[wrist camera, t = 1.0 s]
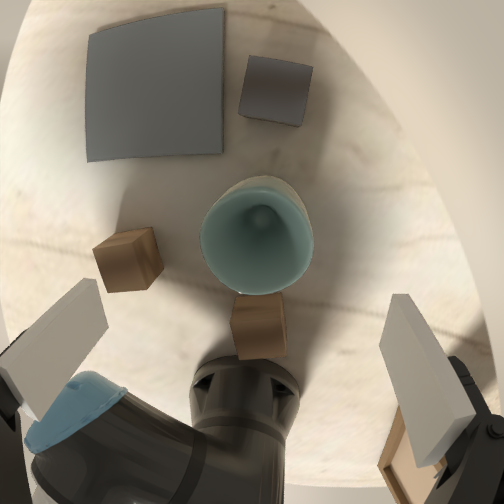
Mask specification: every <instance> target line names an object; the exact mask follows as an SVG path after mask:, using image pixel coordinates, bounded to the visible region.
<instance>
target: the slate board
mask: <svg viewBox="0 0 504 504" xmlns="http://www.w3.org/2000/svg"><path fill="white" fill-rule="evenodd" d="M224 13H225V11H224V9H223V8H213V9H204V10H196V11H188V12H182V13H176V14H170V15H164V16H159V17H154V18H149V19H145V20H141V21H136V22H132V23H128V24H125V25H121V26H117V27H114V28H110V29H107V30H104V31H100V32H97V33H94V34H91V35H89V41H88V52H87V66H86V89H85V129H86V153H87V163H88V162H96V161H105V160H115V159H125V158H137V157H150V156H166V155H187V154H221V153H223V56H224Z"/></svg>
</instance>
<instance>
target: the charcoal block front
mask: <svg viewBox="0 0 504 504" xmlns="http://www.w3.org/2000/svg"><path fill="white" fill-rule="evenodd" d="M312 70H313V67H312V66H307V65H303V64H298V63H293V62H288V61H282V60H277V59H271V58H264V57H258V56H250V55H249V60H248V65H247V70H246V75H245V79H244V84H243V90H242V95H241V100H240V105H239V110H238V114H240V115H242V116H244V117H248V118H254V119H260V120H265V121H271V122H276V123H281V124H286V125H291V126H295V127H300V126H302V121H303V116H304V111H305V106H306V101H307V96H308V91H309V86H310V81H311V76H312Z"/></svg>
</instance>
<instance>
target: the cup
mask: <svg viewBox="0 0 504 504" xmlns="http://www.w3.org/2000/svg"><path fill="white" fill-rule="evenodd" d="M200 246H201V250H202V254H203V257H204V259H205V261H206V263H207V265H208V267H209V269H210V270H211V271H212V273H213V274H214V276H215V277H216V278H217V279H218V280H219V281H220V282H221V283H223V284H224V285H226V286H227V287H228V288H230V289H232V290H234V291H236V292H239V293H242V294H247V295H265V294H271V293H274V292H277V291H280V290H282V289H284V288H286V287H288V286H290V285H291V284H293V283H294V282H296V281H297V280H298V279H299V278H300V277H301V276H302V275H303V274H304V273H305V272H306V270H307V268H308V266H309V265H310V263H311V259H312V256H313V251H314V238H313V231H312V226H311V223H310V219H309V217H308V214H307V211H306V208H305V206H304V204H303V202H302V200H301V198H300V197H299V195H298V194H297V193H296V191H295V190H294V189H293V188H292V187H291V186H290V185H289V184H288V183H286V182H285V181H283V180H281V179H279V178H277V177H273V176H255V177H250V178H248V179H245V180H243V181H240V182H239V183H237V184H235V185H234V186H232V187H231V188H230V189H228V190H227V191H226V192H225V193H224V194H223V195H222V196H221V197H220V198H219V199H218V200H217V201H216V202H215V203H214V204H213V206H212V207H211V208H210V210H209V211H208V212H207V214H206V215H205V218H204V220H203V222H202V225H201V231H200Z"/></svg>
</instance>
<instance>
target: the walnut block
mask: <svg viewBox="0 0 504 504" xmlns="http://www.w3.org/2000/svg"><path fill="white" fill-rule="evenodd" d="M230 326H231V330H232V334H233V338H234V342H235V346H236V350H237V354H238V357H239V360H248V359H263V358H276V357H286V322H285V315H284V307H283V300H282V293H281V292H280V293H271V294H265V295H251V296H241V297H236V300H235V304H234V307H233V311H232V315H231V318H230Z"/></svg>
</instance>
